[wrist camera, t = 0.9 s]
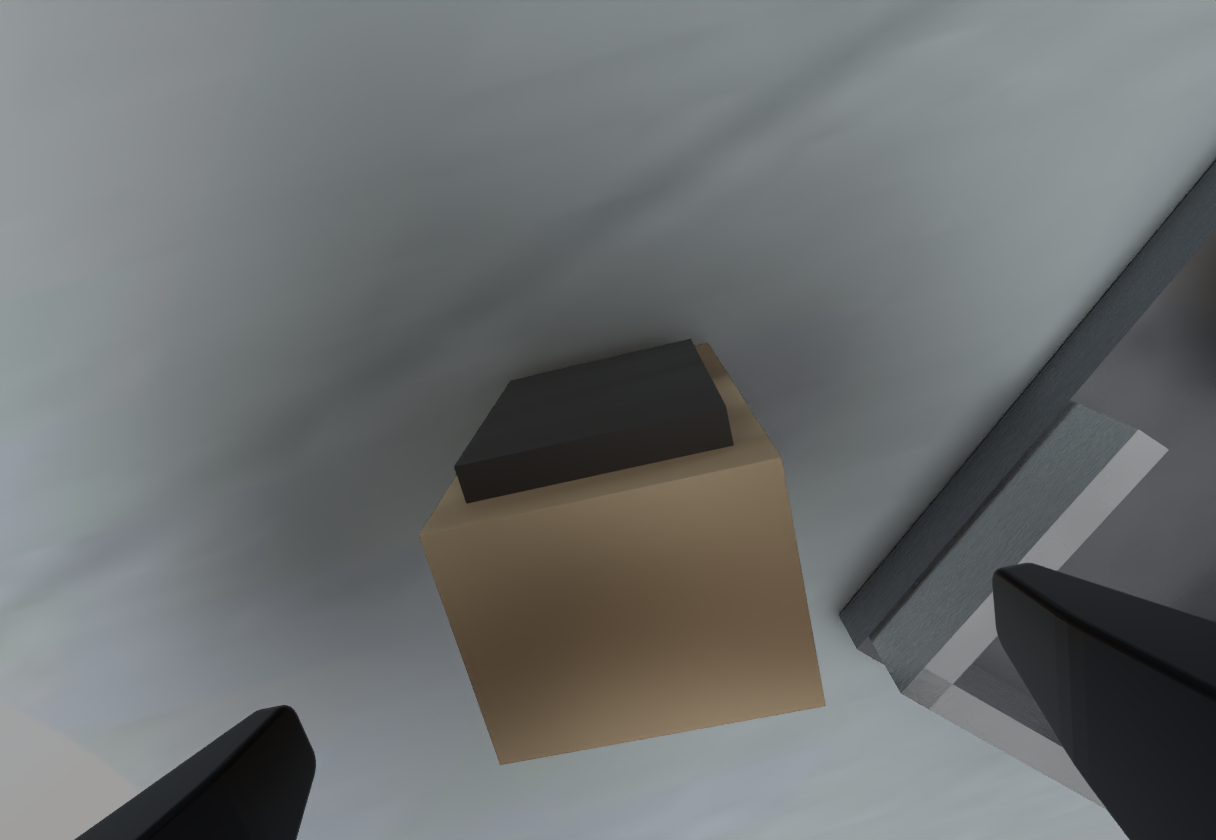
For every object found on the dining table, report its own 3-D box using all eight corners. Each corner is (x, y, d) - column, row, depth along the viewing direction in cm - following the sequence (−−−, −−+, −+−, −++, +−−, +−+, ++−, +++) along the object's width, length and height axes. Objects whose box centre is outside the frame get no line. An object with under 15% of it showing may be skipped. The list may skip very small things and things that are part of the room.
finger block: (503, 366, 17) (404, 496, 9) (703, 318, 16) (774, 414, 9) (552, 530, 18) (500, 764, 10) (737, 491, 18) (826, 706, 10)
